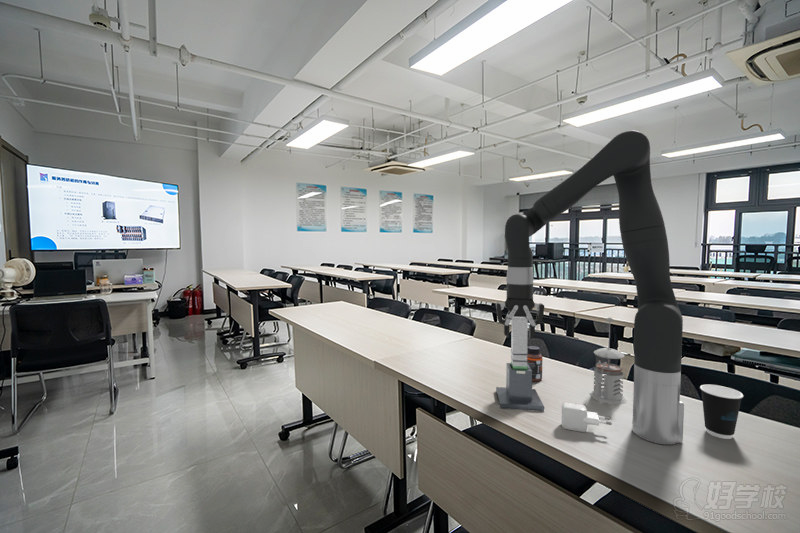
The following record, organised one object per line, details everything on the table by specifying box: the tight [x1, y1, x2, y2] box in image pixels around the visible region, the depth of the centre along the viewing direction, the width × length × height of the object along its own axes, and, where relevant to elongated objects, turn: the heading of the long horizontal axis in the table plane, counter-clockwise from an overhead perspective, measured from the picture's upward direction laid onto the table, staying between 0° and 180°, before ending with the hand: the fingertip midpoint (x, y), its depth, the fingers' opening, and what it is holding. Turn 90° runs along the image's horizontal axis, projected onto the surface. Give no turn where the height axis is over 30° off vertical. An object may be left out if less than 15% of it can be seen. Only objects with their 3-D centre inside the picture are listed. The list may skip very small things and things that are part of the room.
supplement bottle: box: [527, 345, 543, 382], centre depth 124 cm, size 6×6×11 cm
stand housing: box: [495, 362, 545, 412], centre depth 107 cm, size 12×12×10 cm
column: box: [510, 316, 529, 370], centre depth 106 cm, size 4×4×18 cm
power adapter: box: [561, 402, 613, 433], centre depth 90 cm, size 11×5×6 cm, turn 67°
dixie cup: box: [699, 384, 744, 440], centre depth 87 cm, size 8×8×11 cm
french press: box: [589, 316, 627, 405], centre depth 108 cm, size 10×12×25 cm
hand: (519, 337), depth 106 cm, fingers open, 6 cm apart
